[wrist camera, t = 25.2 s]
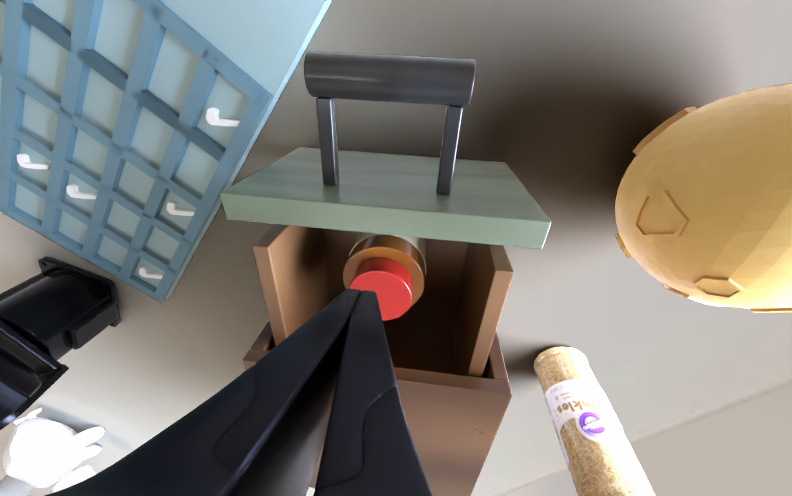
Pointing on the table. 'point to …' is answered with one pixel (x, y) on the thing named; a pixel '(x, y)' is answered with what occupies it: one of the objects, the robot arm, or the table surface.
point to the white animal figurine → (49, 452)
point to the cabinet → (441, 416)
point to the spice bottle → (388, 270)
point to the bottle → (14, 487)
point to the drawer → (391, 214)
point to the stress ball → (716, 202)
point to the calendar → (137, 119)
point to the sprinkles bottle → (588, 427)
